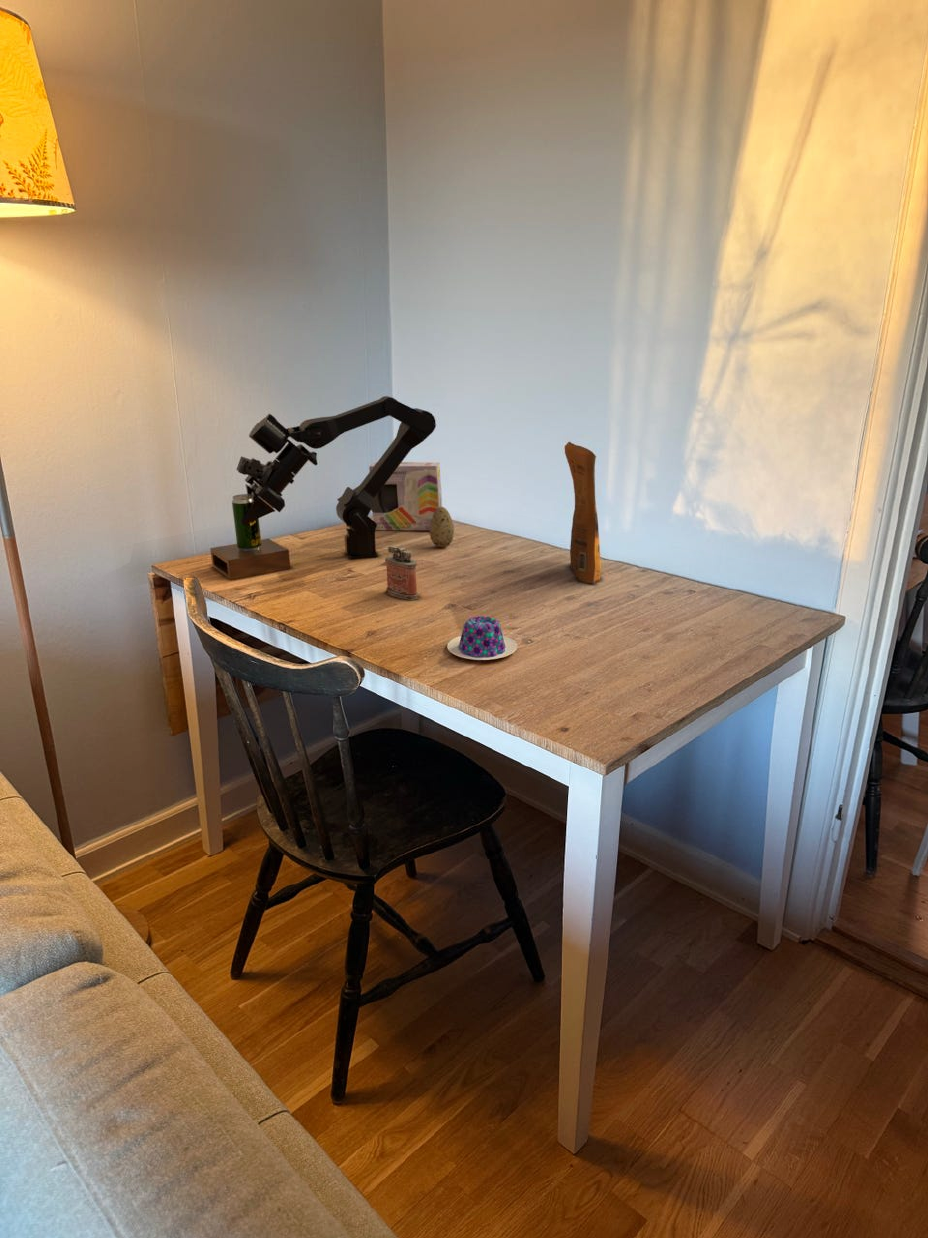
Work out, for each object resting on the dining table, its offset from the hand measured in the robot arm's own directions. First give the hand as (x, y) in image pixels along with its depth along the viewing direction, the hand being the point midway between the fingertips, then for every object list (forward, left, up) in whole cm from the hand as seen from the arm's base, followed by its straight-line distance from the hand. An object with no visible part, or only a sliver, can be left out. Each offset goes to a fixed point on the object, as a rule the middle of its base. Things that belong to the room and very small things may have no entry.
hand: (240, 520), depth 184 cm
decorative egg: (-47, -2, -11) cm, 49 cm away
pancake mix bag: (-70, +29, -11) cm, 77 cm away
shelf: (-1, 0, -11) cm, 11 cm away
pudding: (-35, +63, -11) cm, 73 cm away
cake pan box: (-43, -22, -11) cm, 50 cm away
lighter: (-29, +30, -11) cm, 43 cm away
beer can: (-1, 0, -7) cm, 7 cm away
